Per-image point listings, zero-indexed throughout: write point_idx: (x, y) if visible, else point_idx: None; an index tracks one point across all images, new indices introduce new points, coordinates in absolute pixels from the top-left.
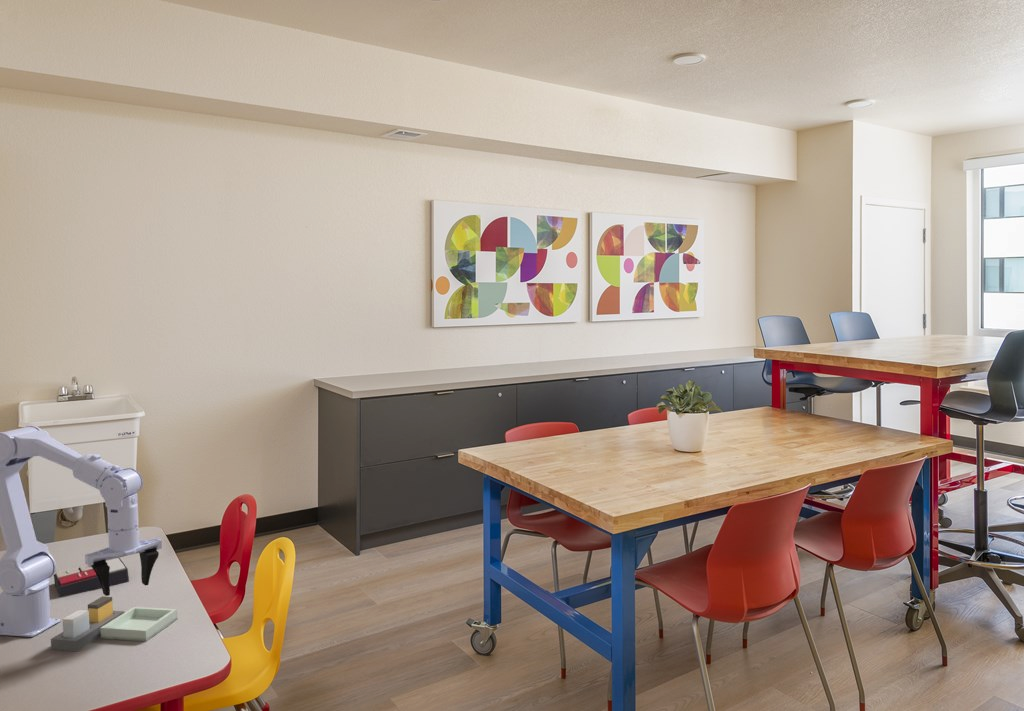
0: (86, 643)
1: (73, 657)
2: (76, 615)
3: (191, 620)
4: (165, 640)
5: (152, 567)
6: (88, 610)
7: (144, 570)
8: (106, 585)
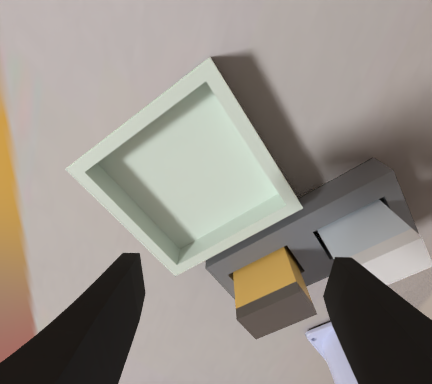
0: (341, 178)
1: (403, 125)
2: (389, 262)
3: (42, 111)
4: (155, 4)
5: (24, 344)
6: (309, 296)
7: (104, 352)
8: (399, 303)
